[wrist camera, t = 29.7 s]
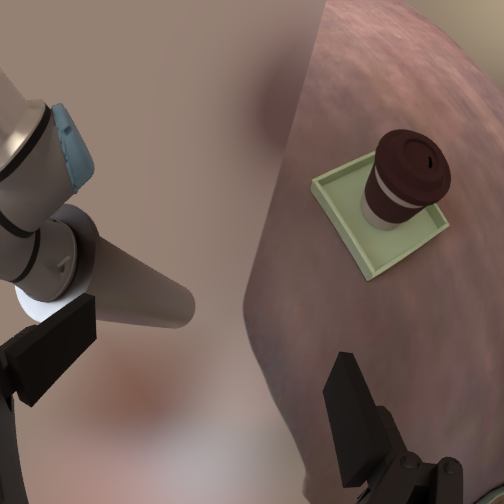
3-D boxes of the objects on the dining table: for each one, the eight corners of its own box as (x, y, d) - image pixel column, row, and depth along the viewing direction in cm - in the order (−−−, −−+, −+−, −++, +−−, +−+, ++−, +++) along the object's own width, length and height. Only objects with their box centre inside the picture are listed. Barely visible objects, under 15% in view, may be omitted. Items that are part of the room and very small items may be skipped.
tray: (309, 189, 43) (311, 179, 40) (386, 153, 44) (391, 143, 41) (367, 281, 39) (374, 277, 36) (440, 231, 40) (449, 225, 37)
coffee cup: (338, 203, 42) (364, 143, 27) (378, 170, 43) (410, 110, 28) (383, 253, 39) (431, 212, 25) (420, 214, 40) (469, 166, 26)
